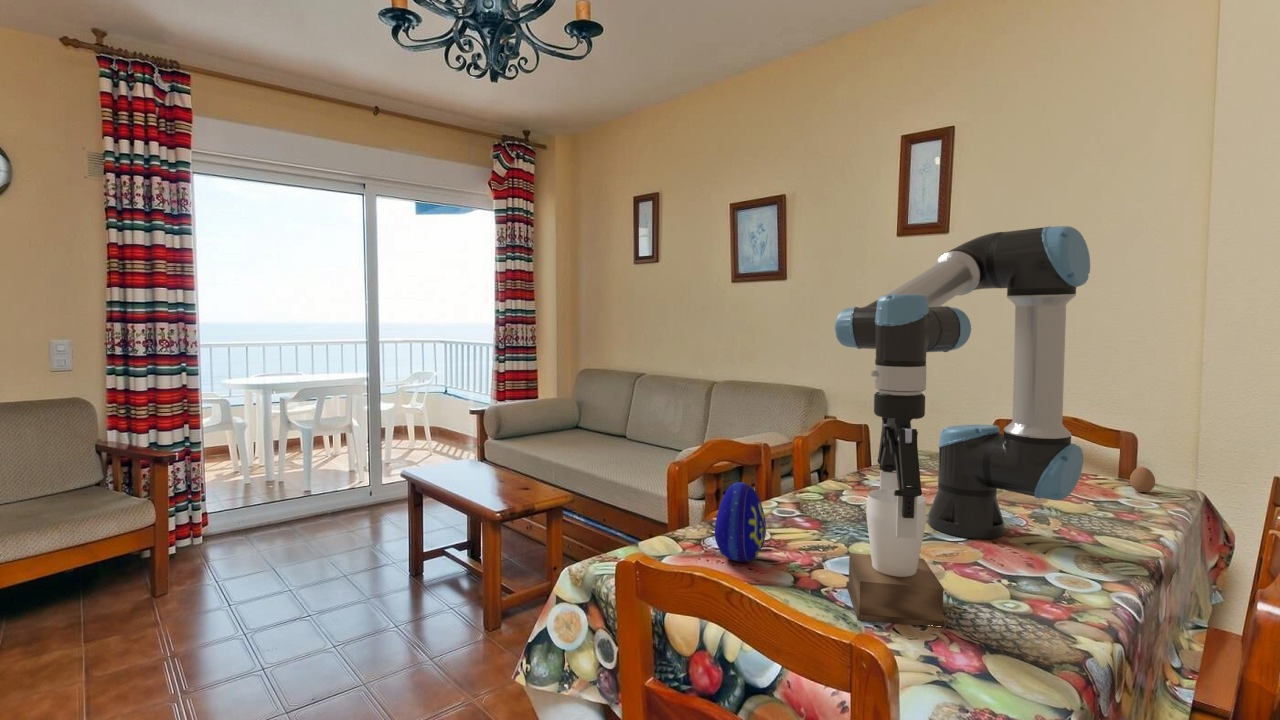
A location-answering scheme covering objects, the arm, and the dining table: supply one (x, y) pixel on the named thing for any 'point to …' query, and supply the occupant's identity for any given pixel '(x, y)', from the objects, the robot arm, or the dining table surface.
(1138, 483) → the egg
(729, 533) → the ornament
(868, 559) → the riser
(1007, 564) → the dining table surface
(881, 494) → the cup
